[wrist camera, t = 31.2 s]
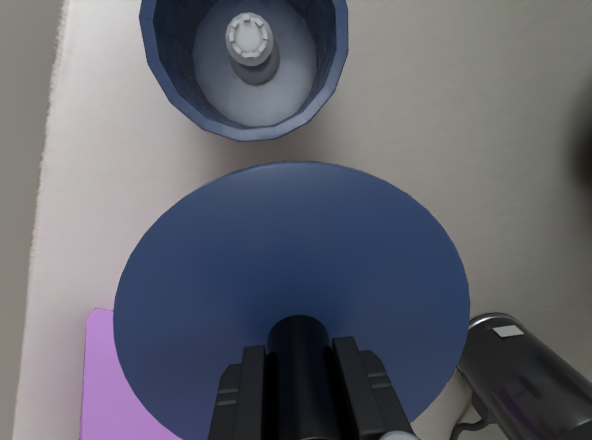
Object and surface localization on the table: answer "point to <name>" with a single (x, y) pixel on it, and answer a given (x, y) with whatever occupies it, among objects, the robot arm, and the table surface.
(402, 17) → the table surface
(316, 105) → the pot
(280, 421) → the lid
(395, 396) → the robot arm
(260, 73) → the rook chess piece
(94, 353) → the purple table lamp
